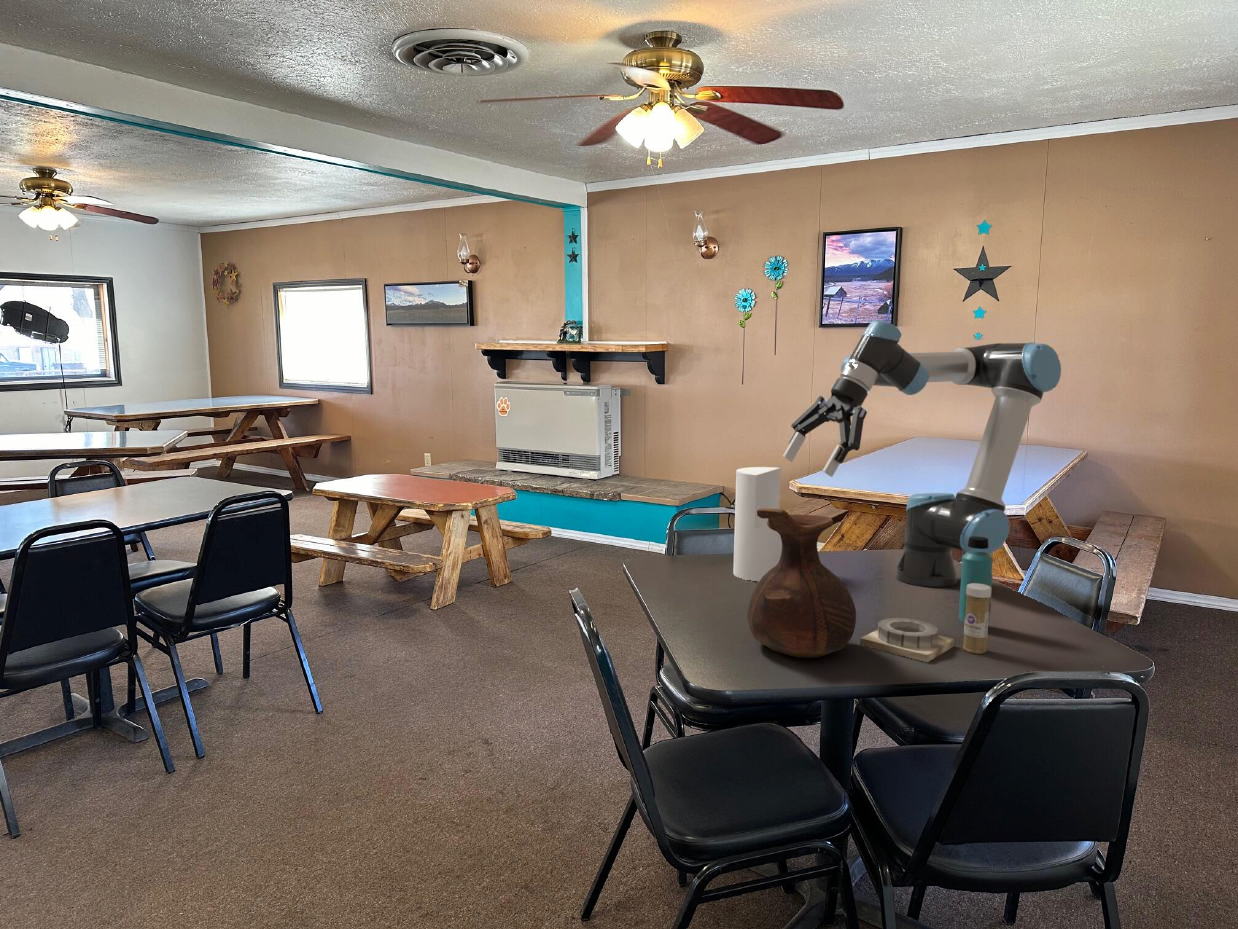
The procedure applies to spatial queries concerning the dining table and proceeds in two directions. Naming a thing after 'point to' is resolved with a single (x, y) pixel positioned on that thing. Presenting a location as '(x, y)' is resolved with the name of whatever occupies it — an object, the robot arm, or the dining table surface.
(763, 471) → the white tall prism
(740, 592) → the dining table surface
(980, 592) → the sprinkles bottle
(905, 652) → the plate
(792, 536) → the jug
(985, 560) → the beverage bottle
